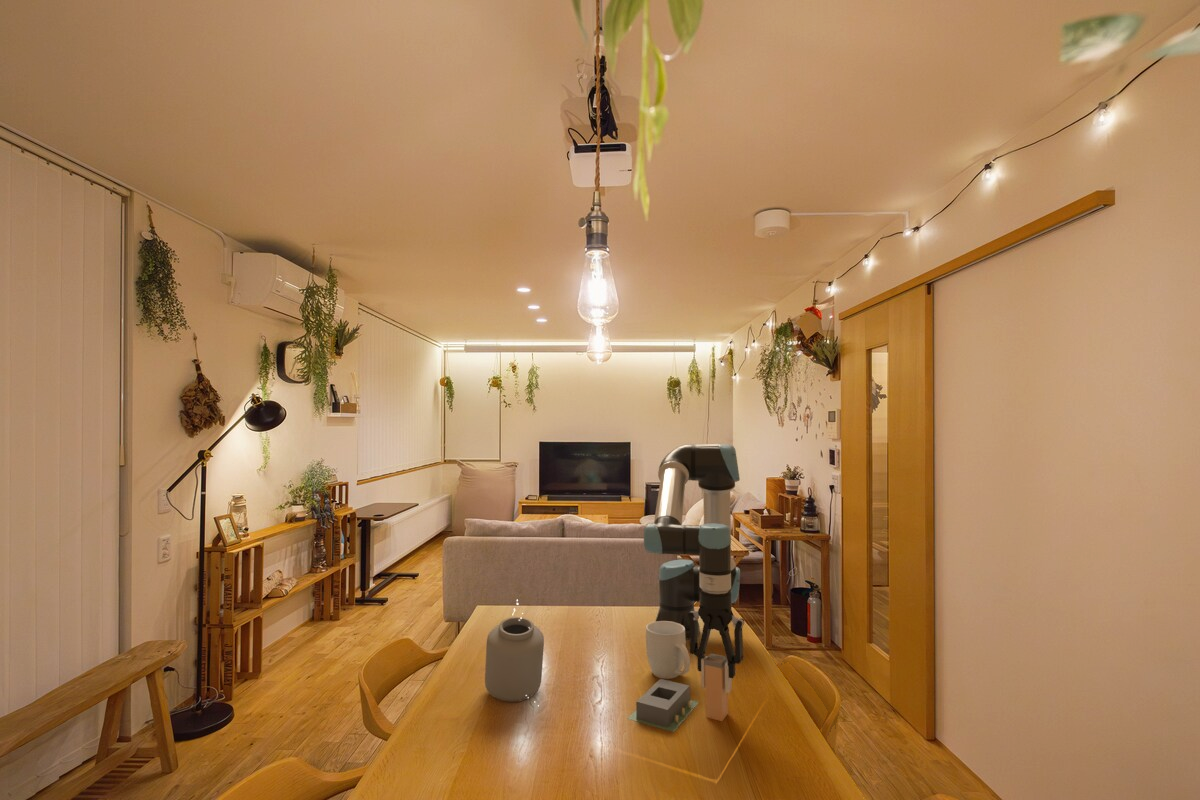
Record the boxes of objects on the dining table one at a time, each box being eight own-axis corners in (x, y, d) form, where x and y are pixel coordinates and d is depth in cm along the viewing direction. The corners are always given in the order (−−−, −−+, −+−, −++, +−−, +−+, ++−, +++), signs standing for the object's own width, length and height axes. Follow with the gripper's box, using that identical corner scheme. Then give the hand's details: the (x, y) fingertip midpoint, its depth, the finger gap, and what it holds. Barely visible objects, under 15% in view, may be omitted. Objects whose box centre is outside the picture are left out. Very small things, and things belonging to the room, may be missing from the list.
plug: (711, 711, 140) (710, 653, 141) (727, 715, 138) (726, 656, 139) (705, 719, 137) (704, 659, 137) (722, 723, 135) (721, 663, 135)
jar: (553, 706, 143) (553, 604, 144) (495, 718, 137) (495, 612, 138) (532, 676, 161) (532, 585, 162) (479, 685, 155) (480, 591, 156)
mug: (703, 682, 156) (703, 633, 157) (672, 693, 150) (672, 642, 151) (668, 663, 168) (667, 618, 169) (638, 672, 162) (637, 625, 163)
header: (655, 693, 150) (654, 675, 150) (698, 704, 144) (698, 685, 144) (626, 720, 136) (626, 701, 136) (674, 734, 130) (673, 713, 130)
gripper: (674, 588, 140) (675, 685, 139) (748, 599, 131) (749, 703, 130) (685, 580, 146) (686, 673, 146) (757, 590, 137) (758, 690, 136)
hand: (716, 687), depth 138 cm, fingers open, 5 cm apart
